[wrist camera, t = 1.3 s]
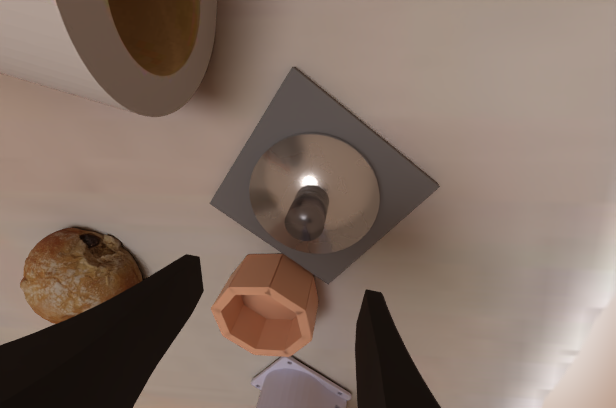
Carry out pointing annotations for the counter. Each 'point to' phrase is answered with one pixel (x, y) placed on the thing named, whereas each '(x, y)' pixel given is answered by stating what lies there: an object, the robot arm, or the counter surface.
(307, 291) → the bowl
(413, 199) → the plate
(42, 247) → the bread roll
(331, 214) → the lid
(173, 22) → the toilet paper
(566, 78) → the counter surface
